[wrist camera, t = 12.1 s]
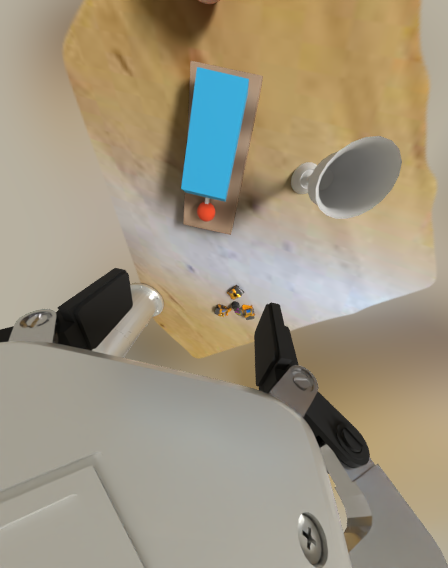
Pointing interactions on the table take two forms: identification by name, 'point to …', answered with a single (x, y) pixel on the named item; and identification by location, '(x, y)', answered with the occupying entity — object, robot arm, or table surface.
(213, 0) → the decorative fruit
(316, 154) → the table surface
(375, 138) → the chalice
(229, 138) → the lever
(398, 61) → the table surface
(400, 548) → the robot arm
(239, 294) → the toy set
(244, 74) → the walnut riser block
